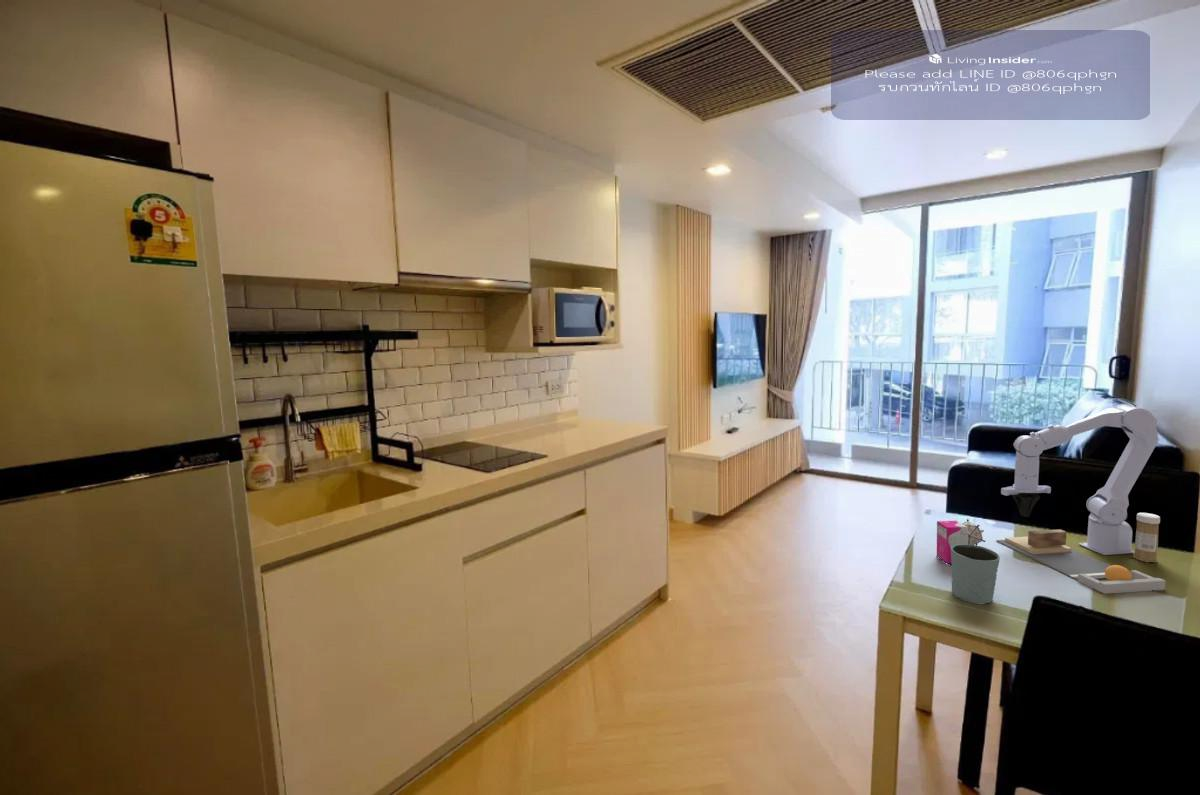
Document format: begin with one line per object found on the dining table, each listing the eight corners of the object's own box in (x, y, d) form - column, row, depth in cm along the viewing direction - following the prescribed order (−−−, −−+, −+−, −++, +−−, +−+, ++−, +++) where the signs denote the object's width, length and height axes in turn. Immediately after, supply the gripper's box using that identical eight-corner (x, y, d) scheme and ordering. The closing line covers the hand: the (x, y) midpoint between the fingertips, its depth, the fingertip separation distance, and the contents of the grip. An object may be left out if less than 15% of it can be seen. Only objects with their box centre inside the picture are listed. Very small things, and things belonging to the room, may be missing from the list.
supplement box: (955, 556, 155) (957, 520, 154) (967, 565, 149) (969, 527, 148) (935, 556, 156) (936, 520, 154) (946, 565, 150) (947, 527, 148)
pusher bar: (1059, 542, 156) (1060, 529, 156) (1065, 545, 154) (1066, 531, 154) (1027, 544, 156) (1028, 531, 155) (1033, 547, 154) (1034, 533, 153)
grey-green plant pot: (951, 583, 139) (953, 540, 138) (998, 593, 133) (1000, 549, 131) (947, 598, 132) (948, 554, 130) (997, 610, 125) (999, 563, 124)
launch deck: (1044, 538, 165) (1045, 530, 164) (1164, 589, 131) (1165, 580, 131) (996, 541, 164) (996, 533, 164) (1104, 593, 130) (1105, 584, 130)
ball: (1140, 572, 131) (1134, 588, 133) (1120, 560, 136) (1115, 576, 138) (1121, 573, 131) (1115, 589, 133) (1102, 561, 136) (1097, 577, 138)
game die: (975, 558, 161) (998, 540, 155) (949, 550, 161) (972, 532, 155) (964, 535, 168) (986, 517, 162) (940, 527, 168) (961, 509, 162)
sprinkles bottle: (1158, 560, 146) (1162, 515, 145) (1154, 564, 144) (1158, 518, 142) (1135, 555, 150) (1139, 510, 149) (1131, 559, 148) (1134, 514, 146)
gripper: (1037, 469, 165) (1035, 510, 167) (993, 472, 165) (992, 512, 166) (1057, 475, 158) (1055, 517, 160) (1012, 477, 158) (1010, 520, 159)
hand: (1024, 515), depth 162 cm, fingers closed
